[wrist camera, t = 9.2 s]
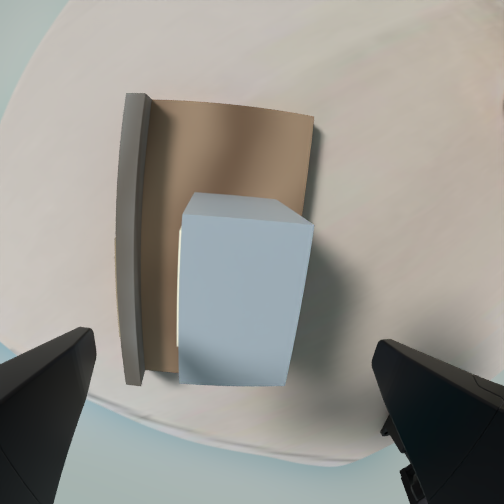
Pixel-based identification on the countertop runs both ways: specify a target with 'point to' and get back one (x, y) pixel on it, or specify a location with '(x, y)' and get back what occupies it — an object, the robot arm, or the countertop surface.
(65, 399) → the robot arm
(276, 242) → the carton
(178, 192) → the shelf board
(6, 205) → the countertop surface
